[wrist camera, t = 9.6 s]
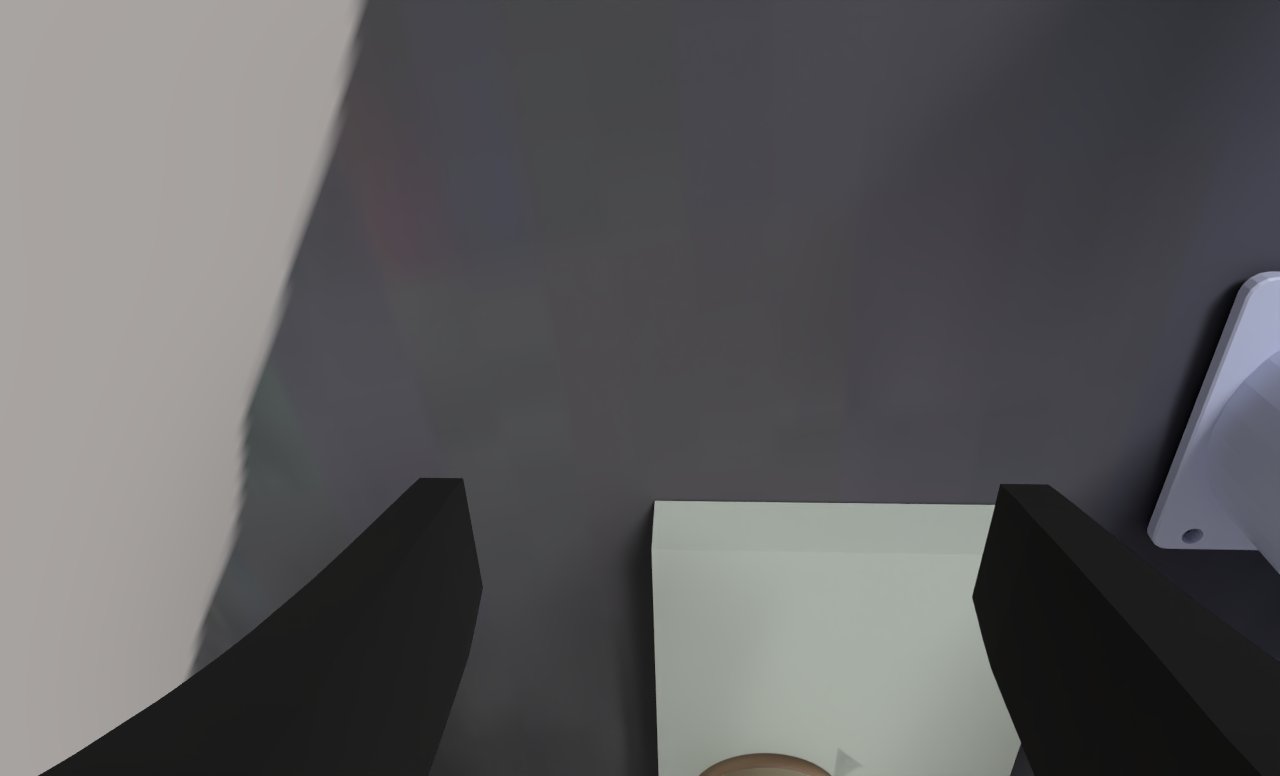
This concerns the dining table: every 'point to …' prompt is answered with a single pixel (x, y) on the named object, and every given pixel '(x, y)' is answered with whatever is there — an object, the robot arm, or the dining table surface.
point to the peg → (764, 766)
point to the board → (825, 638)
